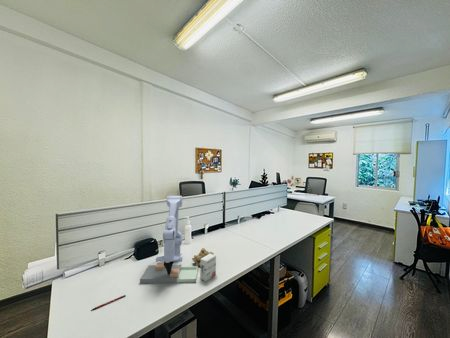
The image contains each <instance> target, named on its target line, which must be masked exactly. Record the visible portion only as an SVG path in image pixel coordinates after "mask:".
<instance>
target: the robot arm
mask: <svg viewBox="0 0 450 338" xmlns="http://www.w3.org/2000/svg"><path fill="white" fill-rule="evenodd" d="M166 206H167V207H168V217H167V218H166V220H165V226H164V230H163V232H162V240H163V241H162V242H163V255H162V256H161V255H160V256H156V258H155V263H159V262H163V263H164V266H165V268H166V270H167V274H170V272H171V268H172V265H174V263H175V262H179V263H182V262H183V256H182V254H183V253H181V246H182V244H183V234H182V232H181V231H179V211H180V210H179V209H180V208H182V206H183V196H182V195H167V196H166Z"/></svg>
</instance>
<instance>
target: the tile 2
mask: <svg viewBox="0 0 450 338" xmlns="http://www.w3.org/2000/svg"><path fill="white" fill-rule="evenodd" d="M179 273H180V269H172V270H171V272H170V277H178V276H179Z"/></svg>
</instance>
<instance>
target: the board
mask: <svg viewBox="0 0 450 338" xmlns="http://www.w3.org/2000/svg"><path fill="white" fill-rule="evenodd" d="M156 265H157V264H155V265H154V264H149V265H148V266H147V267H146V269H145V270H144V271H143V272H144V273H143V274H142V275H141V276H140V279H139V284H141V285H142V284H144V285H145V284H178V283H177V279H178V277H179V276H178V277H170V274H167V270H166V268H165V267H164V269H163V270H155V267H156ZM181 267H182V264H173V265H172V268H171V270H172V269H180V271H181ZM179 274H180V273H179Z"/></svg>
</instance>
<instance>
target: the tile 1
mask: <svg viewBox="0 0 450 338" xmlns="http://www.w3.org/2000/svg"><path fill="white" fill-rule="evenodd" d="M156 263H157V264H155V265H156V267H155V270H163V269H164V267H165V266H164V262H156Z"/></svg>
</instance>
